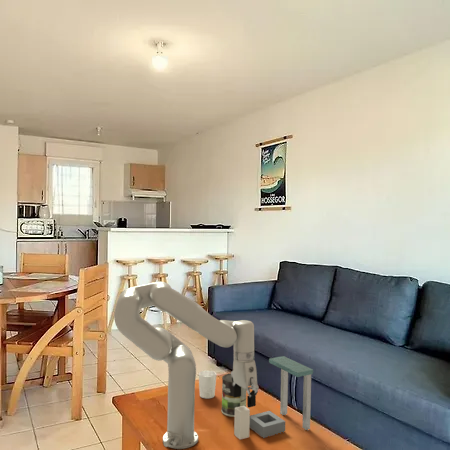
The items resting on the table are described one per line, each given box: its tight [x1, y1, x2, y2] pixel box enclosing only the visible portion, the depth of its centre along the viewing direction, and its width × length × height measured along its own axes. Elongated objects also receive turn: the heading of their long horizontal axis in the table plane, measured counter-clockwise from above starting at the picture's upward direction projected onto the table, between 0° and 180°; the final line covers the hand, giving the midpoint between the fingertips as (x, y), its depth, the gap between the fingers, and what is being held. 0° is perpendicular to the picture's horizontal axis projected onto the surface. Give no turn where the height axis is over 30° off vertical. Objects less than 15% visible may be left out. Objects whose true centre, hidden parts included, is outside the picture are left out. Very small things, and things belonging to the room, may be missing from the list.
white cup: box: [198, 369, 217, 399], centre depth 193 cm, size 8×8×10 cm
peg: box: [233, 406, 251, 440], centre depth 157 cm, size 4×4×10 cm
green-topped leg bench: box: [268, 355, 314, 431], centre depth 168 cm, size 8×18×23 cm, turn 30°
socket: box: [249, 410, 286, 439], centre depth 163 cm, size 10×10×4 cm
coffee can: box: [221, 372, 247, 418], centre depth 177 cm, size 10×10×14 cm
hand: (244, 401), depth 158 cm, fingers open, 9 cm apart
